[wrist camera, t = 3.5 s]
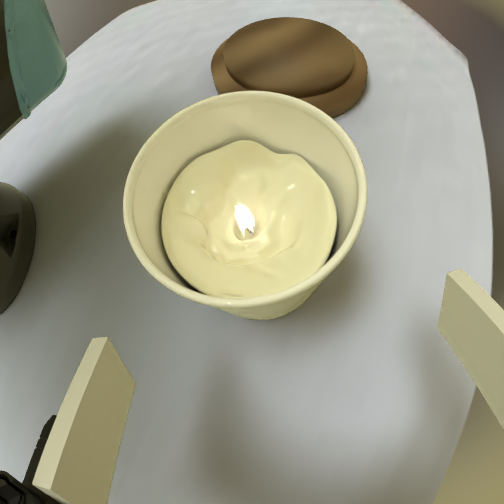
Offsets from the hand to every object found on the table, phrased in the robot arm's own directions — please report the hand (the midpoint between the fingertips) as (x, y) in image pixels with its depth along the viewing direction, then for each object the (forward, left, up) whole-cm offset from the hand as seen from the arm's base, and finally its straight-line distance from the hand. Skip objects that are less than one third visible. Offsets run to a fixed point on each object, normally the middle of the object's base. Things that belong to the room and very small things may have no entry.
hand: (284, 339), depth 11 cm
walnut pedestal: (-16, +21, -11) cm, 29 cm away
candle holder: (-5, +3, -11) cm, 12 cm away
